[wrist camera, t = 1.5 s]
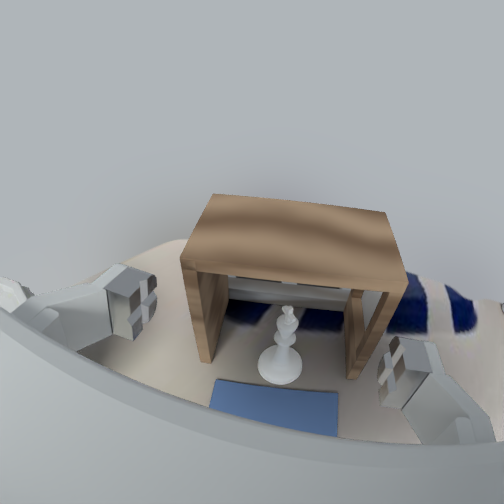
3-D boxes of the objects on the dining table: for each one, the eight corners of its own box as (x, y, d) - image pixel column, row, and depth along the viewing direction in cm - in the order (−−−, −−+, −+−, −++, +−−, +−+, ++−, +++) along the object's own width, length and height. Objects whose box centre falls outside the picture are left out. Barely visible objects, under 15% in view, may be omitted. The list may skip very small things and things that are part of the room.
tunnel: (356, 379, 31) (408, 282, 21) (200, 361, 32) (179, 257, 23) (347, 266, 45) (370, 175, 36) (233, 254, 47) (231, 160, 37)
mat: (334, 473, 22) (334, 472, 22) (196, 457, 24) (196, 456, 24) (337, 394, 29) (338, 393, 29) (216, 380, 31) (215, 379, 31)
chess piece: (270, 391, 30) (278, 339, 23) (250, 356, 33) (251, 297, 27) (310, 373, 31) (329, 317, 25) (288, 341, 35) (299, 280, 29)
